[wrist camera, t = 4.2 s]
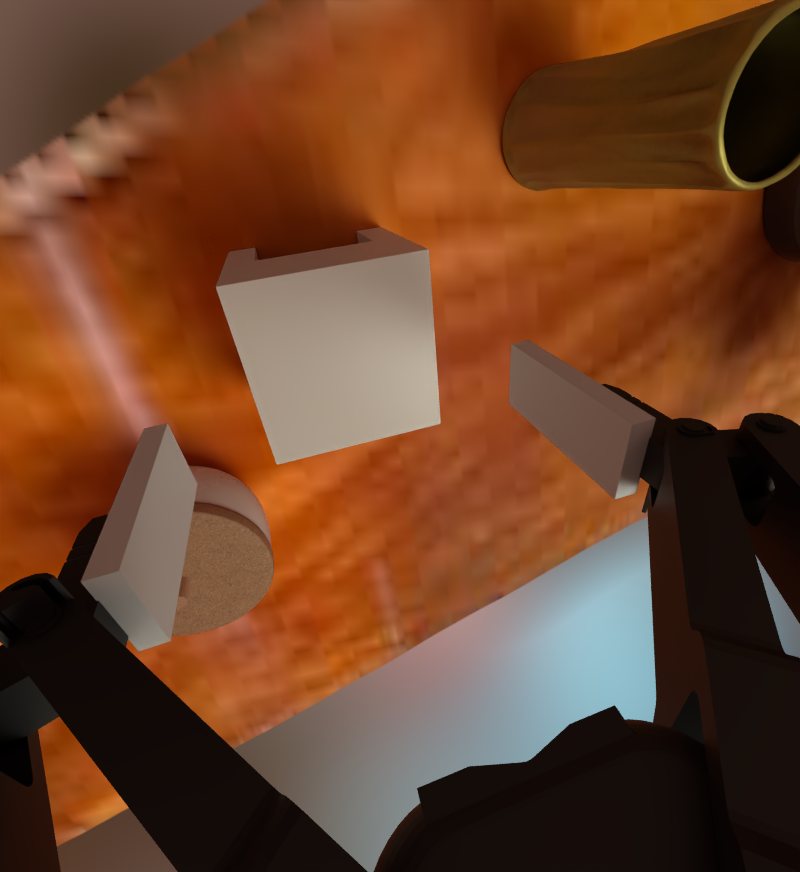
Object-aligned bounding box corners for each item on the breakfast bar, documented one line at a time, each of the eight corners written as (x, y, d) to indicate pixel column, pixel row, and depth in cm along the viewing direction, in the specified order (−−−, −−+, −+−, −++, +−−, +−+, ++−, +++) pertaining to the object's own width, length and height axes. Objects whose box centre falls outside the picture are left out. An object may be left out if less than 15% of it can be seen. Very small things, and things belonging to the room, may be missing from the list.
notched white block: (397, 363, 31) (440, 423, 23) (272, 390, 29) (276, 464, 22) (380, 226, 26) (428, 249, 18) (228, 251, 24) (215, 287, 17)
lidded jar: (102, 438, 28) (42, 540, 20) (272, 439, 31) (277, 526, 24) (126, 557, 33) (85, 673, 25) (270, 546, 36) (273, 646, 29)
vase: (605, 77, 25) (910, -6, 13) (573, 195, 28) (797, 213, 16) (514, 55, 23) (773, -62, 12) (490, 184, 26) (675, 195, 15)
